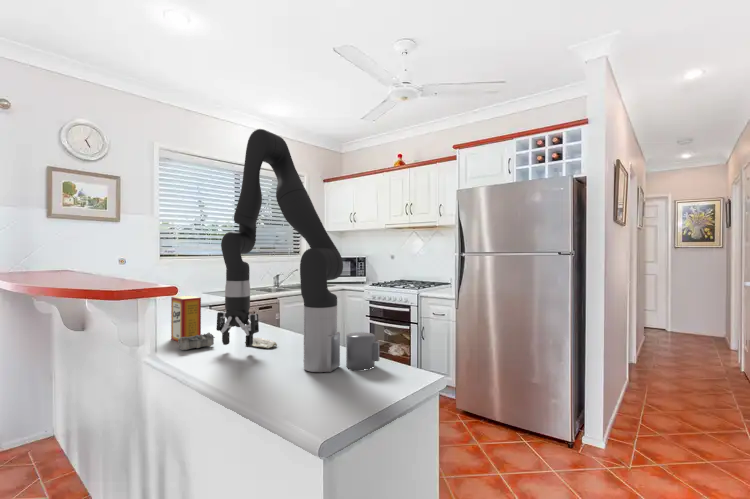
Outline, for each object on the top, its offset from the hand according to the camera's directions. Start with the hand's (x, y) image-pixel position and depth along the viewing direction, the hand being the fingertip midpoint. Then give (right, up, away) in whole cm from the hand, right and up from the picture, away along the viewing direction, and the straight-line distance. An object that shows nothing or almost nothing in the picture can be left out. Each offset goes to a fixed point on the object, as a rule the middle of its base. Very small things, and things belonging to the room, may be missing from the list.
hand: (237, 345), depth 126 cm
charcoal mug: (+40, -3, -14) cm, 42 cm away
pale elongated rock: (+5, -3, +7) cm, 9 cm away
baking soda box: (-25, -3, +19) cm, 31 cm away
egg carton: (-14, -3, +5) cm, 15 cm away
